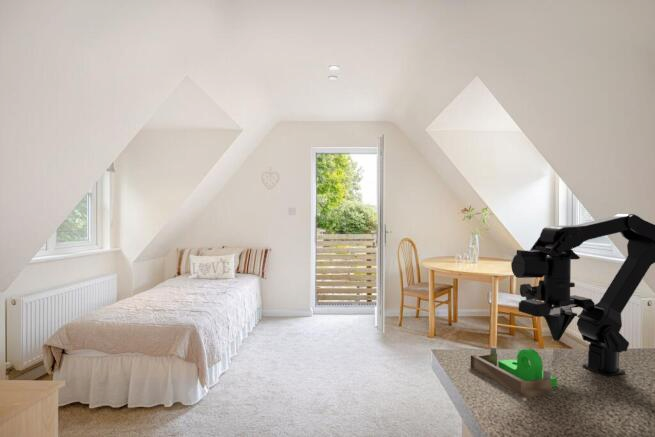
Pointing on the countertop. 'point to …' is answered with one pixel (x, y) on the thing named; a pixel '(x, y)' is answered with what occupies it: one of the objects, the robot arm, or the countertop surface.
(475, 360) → the dock bracket
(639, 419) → the countertop surface
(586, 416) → the countertop surface
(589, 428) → the countertop surface
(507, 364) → the mechanical part
